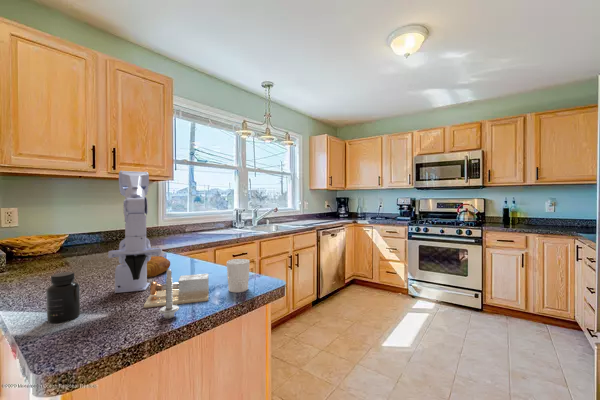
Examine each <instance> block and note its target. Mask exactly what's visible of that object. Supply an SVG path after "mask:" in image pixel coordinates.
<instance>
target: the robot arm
mask: <svg viewBox="0 0 600 400" xmlns="http://www.w3.org/2000/svg"><path fill="white" fill-rule="evenodd" d="M149 185H150V175H149V172H148V171H130V170H128V171H127V170H120V171H118V186H119V192H120V195H121V196H123V197H124V199H123V202H122V203H123V205H122V207H123V209H122V210H123V215H124V216H123V217H124V222H125V223H124V228H125V229H124V233H125V236H124V238H123V239H121V241H120V242H119V243H118V245H119V246H118V249H116V250H115V249H114V250H109V251H108V253H107V254H108V256H107V257H108V259H112V258H118V262H119V264H118V265H116V267H115V271H114V292H113V293H114V294H116V293H117V294H119V293H129V292H139V291H146V290H147V288H148V287H150V285H151V282H148V277H147V261H149V260H150V259H151V257H152V256H155V255H156V256H161V255H162V254H163V247H151V246H152V245H151V240H150V239H149V238H148V237H147V215H148V213H149V202H148V198H147V195H148V192H149Z"/></svg>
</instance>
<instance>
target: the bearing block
mask: <svg viewBox="0 0 600 400" xmlns="http://www.w3.org/2000/svg"><path fill="white" fill-rule="evenodd" d="M177 281H178V282H177V283H179V289H178V290H173V292H172V293H173V294H172V295H173V296H172V297H173V298H172V299H173V300H172V301H173V305H182V304H191V303H198V302H208V301H209V289H210V288H209V287H210V285H209V273H197V274H185V275H180V276H179V279H178V280H177ZM165 297H166V291H157V294H156V295H151V294H149V296H148V297H147V298H146V301H145V302H144V304H143V309H146V308H154V307H156V308H157V307H164V306H166V300H165V299H166V298H165Z"/></svg>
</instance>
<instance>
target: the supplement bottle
mask: <svg viewBox="0 0 600 400" xmlns="http://www.w3.org/2000/svg"><path fill="white" fill-rule="evenodd" d="M75 279H76V278H75V272H73V271H68V272H67V271H64V272H59V273H54V274H52V275H50V283H51V284H50V285H49V286H48V288H46V294H45V295H46V319H47V322H48V323H50V324H59V323H60V322H61V323H65V321H66V322H69V321H72V320H74V319H76V318H78V317H79V316H80V314H81V297H80V296H81V293H80V284H79V282H77V281H75ZM68 320H69V321H68Z"/></svg>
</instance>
